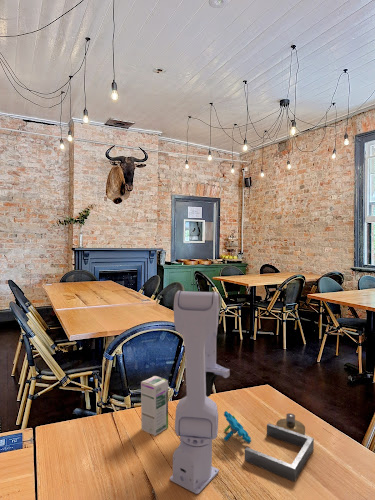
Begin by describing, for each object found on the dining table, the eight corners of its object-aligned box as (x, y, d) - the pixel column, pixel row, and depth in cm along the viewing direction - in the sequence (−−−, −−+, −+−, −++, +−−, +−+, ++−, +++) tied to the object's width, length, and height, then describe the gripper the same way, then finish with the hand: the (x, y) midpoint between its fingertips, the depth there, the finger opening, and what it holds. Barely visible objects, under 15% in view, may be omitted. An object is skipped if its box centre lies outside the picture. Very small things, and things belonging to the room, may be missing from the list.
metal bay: (294, 481, 79) (294, 469, 79) (244, 461, 87) (244, 449, 86) (313, 449, 92) (313, 438, 92) (268, 433, 99) (268, 423, 99)
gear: (256, 445, 90) (229, 417, 91) (240, 462, 90) (213, 433, 91) (248, 428, 101) (224, 403, 102) (234, 443, 101) (210, 418, 102)
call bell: (299, 443, 94) (300, 425, 94) (272, 434, 99) (272, 416, 99) (308, 430, 101) (308, 414, 100) (282, 422, 105) (282, 406, 105)
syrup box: (155, 436, 97) (155, 386, 96) (140, 429, 100) (140, 380, 100) (168, 428, 101) (168, 379, 101) (153, 421, 105) (154, 374, 105)
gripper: (234, 351, 101) (234, 397, 101) (194, 342, 109) (193, 384, 110) (222, 358, 95) (222, 406, 95) (180, 348, 103) (180, 392, 104)
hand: (206, 395), depth 102 cm, fingers closed
